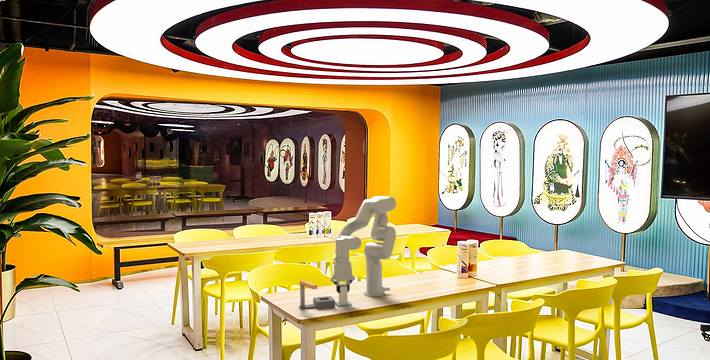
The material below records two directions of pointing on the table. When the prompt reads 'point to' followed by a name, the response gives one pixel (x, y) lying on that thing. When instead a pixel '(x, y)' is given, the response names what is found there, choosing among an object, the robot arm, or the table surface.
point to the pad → (343, 304)
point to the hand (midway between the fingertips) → (343, 292)
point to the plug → (343, 293)
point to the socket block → (316, 301)
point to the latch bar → (308, 284)
